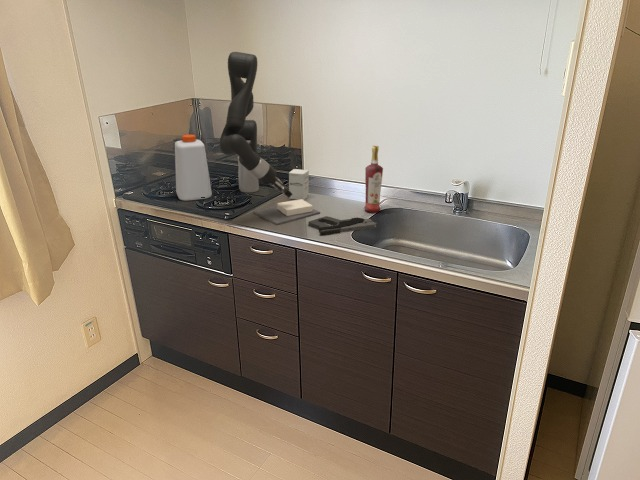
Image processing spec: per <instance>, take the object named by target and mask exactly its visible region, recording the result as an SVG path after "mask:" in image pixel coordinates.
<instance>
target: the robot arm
mask: <svg viewBox="0 0 640 480" xmlns="http://www.w3.org/2000/svg"><path fill="white" fill-rule="evenodd" d="M227 71H228V78H229V83H230V84H229V85H230V97H231V98H230V99H231V101H230V103H229V106H228V108H227V115H226V120H225V121H226V123H225V124H224V128H223V129H222V133H221V136H220V138H219V148H220V151H221V152H222V153H223V154H225V155H227V156H228V155H229V156H230V155H234V154H236V155H237V163H238V170H237V176H238V188H239V192H242V193H255V192H258V191H259V190H260V186H259V185H260V184H259V183H261V184H263V185H265V186H266V185H268V184H269V185H270V186H272V187H273V188H274V189H276V190H277V191H279V192H281V194H283V195H285V196H286V197H287V198H290V197H291V196H292V193H291V192H290V191H289V187H288V186H286V185H285V184H284V183H283V181H281V179H280V178H279V177H276V176H277V170H276V169H275V168H274V167H273V166H271V164H269V163H268V162H267V161H266V160H265V159H263V158H262V157H260V155H258V127H257V122H256V120H254V119H252V120H251V119H249V120H248V119H247V116H249V115H250V114H251V113H252V111H253V109H254V92H253V88H254V84H255V79H256V76H257V71H258V58H257V56H256V55H255V54H251V53H246V52H239V51H232V52H230V53H229V54H228V58H227ZM243 79H245V81H244V80H243ZM248 141H249V142H248Z"/></svg>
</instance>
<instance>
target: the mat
mask: <svg viewBox="0 0 640 480" xmlns="http://www.w3.org/2000/svg"><path fill="white" fill-rule="evenodd" d="M252 213H253V214H254V215H256V216H259V217H260V218H261V219H264V220H266V221H268V222H270V223H272V224H274V225H275V226H279V225H280V226H281V225H283V224H286V223H291V222H293V221H298V220H302V219H305V218H306V219H307V218H309V217H313V216H316V215H320V214H321V211H320V210H317V209H314V208H313V211H312V212H308V213H303V214H297V215H291V216H286V215H285V214H284V213H282V212H281V211H279V210H278V209H277V205H274V206H269V207H266V208H261V209H257V210H253V211H252Z"/></svg>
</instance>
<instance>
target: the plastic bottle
mask: <svg viewBox="0 0 640 480" xmlns="http://www.w3.org/2000/svg"><path fill="white" fill-rule="evenodd" d="M196 138H197V136H196V134H184V135H182V136H181V140H177V141H175V142H174V161H175V163H174V165H175V190H176V191H175V192H176V195H177V197H178V199H179V200H181V201H185V202H189V201H197V200H205V199H209V198H211V197H212V195H213V192H212V187H211V180H210V172H209V166H208V160H207V154H206V146H205V144H204V143H203V141H201V140H200V139H196ZM201 197H205V198H201Z"/></svg>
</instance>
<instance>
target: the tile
mask: <svg viewBox="0 0 640 480" xmlns="http://www.w3.org/2000/svg"><path fill="white" fill-rule="evenodd" d="M276 206H277V209H278V210H279V211H281V212H282V213H284V214H285V215H286V216H291V215H297V214H303V213H308V212H312V211H313V209H314V208H313V207H314V206H313V205H312V204H311V203H309V202H308V201H306V200H303V199H300V200H297V199H293V200H289V201H282V202H277V203H276Z"/></svg>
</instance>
